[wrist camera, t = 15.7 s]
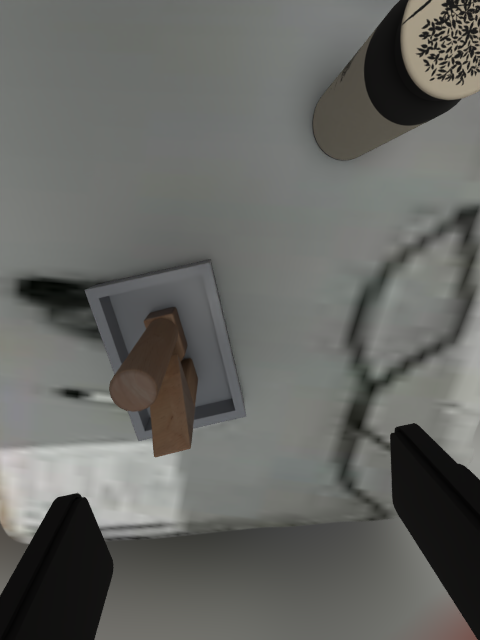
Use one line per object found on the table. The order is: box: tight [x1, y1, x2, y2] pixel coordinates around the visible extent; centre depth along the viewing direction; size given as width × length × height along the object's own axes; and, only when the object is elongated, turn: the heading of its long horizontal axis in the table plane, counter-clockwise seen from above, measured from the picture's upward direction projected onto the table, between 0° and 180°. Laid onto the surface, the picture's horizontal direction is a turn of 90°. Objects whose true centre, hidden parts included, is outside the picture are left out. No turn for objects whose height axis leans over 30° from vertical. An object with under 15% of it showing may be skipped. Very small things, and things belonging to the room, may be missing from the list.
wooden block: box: [109, 307, 198, 457], centre depth 33 cm, size 4×11×18 cm, turn 13°
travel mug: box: [313, 0, 480, 160], centre depth 28 cm, size 8×8×18 cm
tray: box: [85, 259, 246, 441], centre depth 41 cm, size 20×14×4 cm
